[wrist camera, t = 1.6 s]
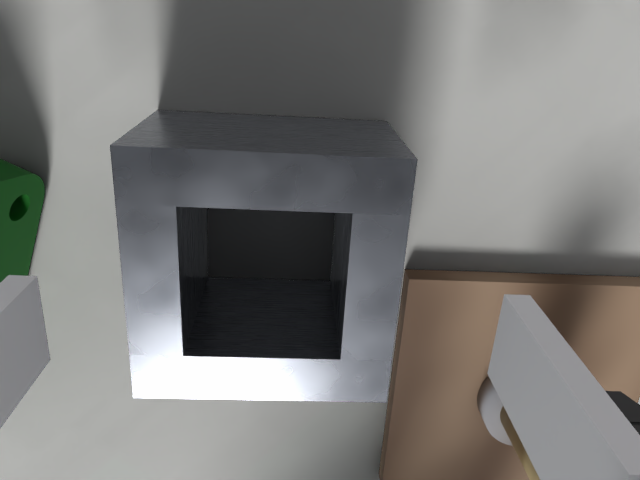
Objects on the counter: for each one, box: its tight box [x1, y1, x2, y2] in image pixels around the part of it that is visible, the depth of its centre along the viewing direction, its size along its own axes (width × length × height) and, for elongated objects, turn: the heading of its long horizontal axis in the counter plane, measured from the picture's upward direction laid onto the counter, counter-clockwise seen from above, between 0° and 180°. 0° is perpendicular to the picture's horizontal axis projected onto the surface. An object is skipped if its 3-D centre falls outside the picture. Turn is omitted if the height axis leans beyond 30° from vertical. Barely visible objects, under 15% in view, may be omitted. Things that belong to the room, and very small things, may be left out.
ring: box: [110, 110, 417, 402], centre depth 21 cm, size 9×9×6 cm
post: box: [379, 269, 640, 480], centre depth 23 cm, size 12×12×9 cm
